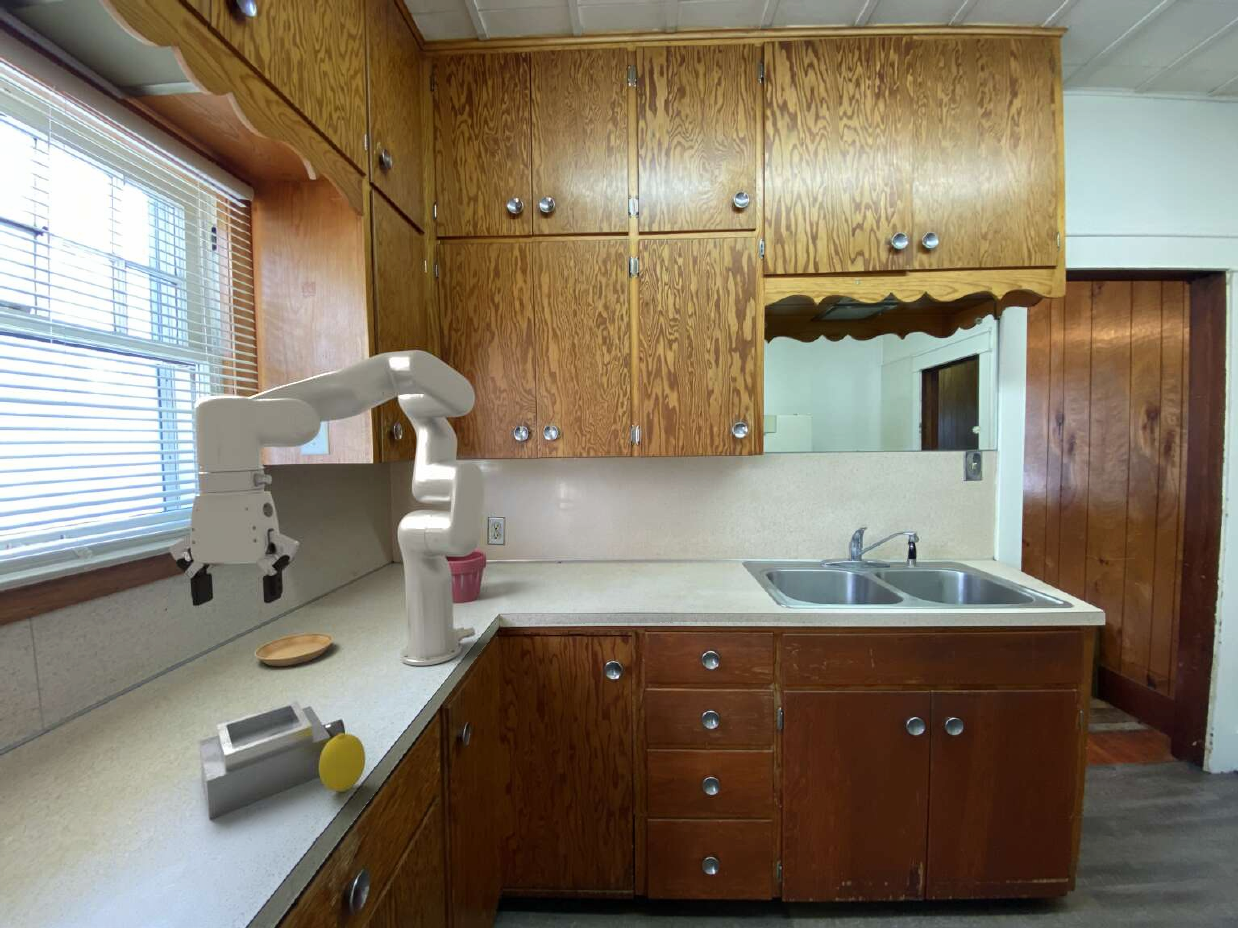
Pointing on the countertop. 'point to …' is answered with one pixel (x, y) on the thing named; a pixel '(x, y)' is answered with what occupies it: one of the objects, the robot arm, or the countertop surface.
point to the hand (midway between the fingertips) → (238, 601)
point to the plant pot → (466, 576)
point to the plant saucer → (294, 649)
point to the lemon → (341, 762)
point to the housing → (262, 755)
